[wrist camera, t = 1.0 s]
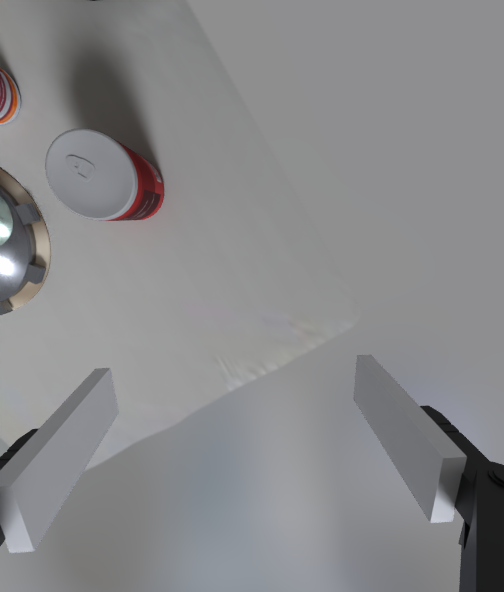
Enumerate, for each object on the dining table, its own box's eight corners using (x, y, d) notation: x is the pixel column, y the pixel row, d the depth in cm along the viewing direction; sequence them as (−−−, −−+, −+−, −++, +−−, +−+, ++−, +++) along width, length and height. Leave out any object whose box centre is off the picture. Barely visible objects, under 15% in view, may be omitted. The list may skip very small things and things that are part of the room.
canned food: (109, 145, 34) (50, 112, 24) (173, 169, 35) (144, 147, 25) (97, 207, 36) (37, 203, 25) (158, 228, 37) (125, 232, 26)
